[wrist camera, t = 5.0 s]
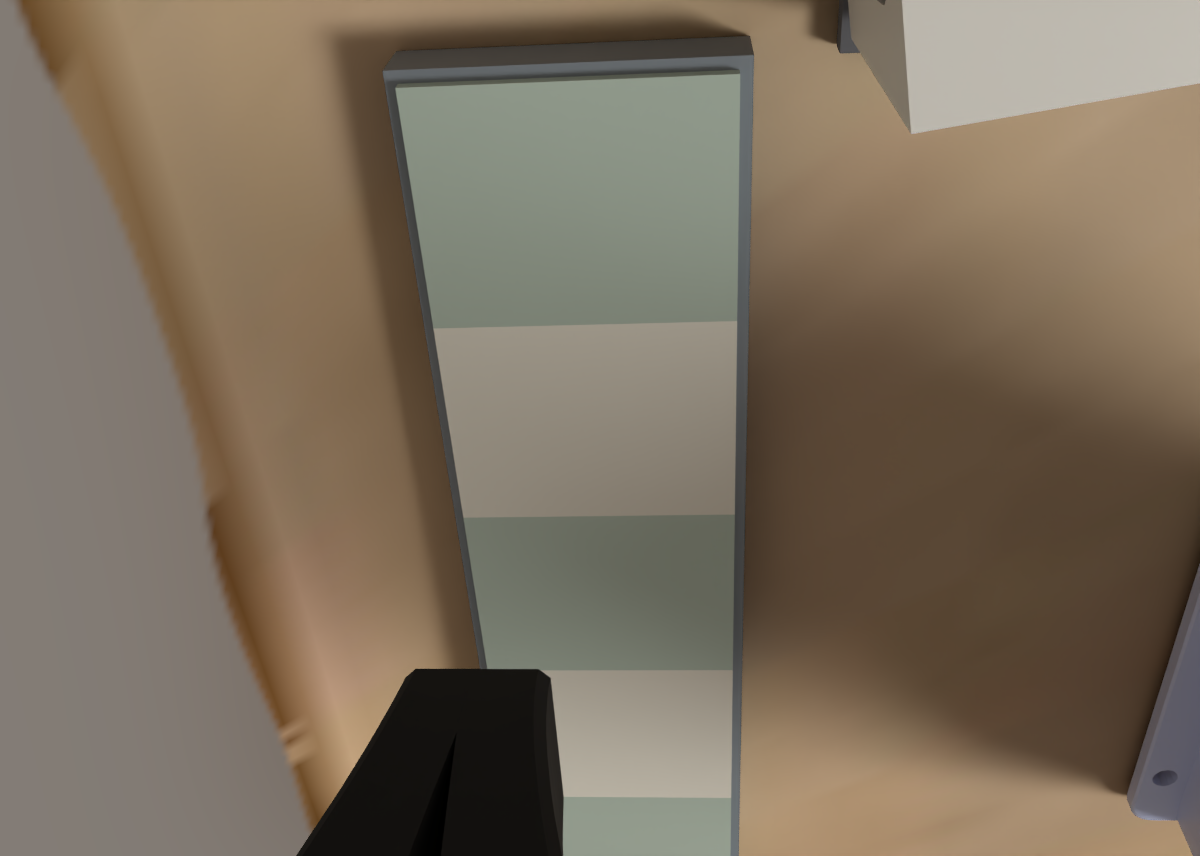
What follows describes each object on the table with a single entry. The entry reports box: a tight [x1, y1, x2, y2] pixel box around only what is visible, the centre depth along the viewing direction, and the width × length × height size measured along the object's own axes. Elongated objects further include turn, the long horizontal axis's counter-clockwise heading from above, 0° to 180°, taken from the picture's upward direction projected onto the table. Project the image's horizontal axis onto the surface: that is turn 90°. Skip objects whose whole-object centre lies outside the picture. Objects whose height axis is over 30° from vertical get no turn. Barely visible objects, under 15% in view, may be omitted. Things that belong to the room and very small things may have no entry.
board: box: [383, 36, 754, 856], centre depth 24 cm, size 24×5×1 cm, turn 3°
